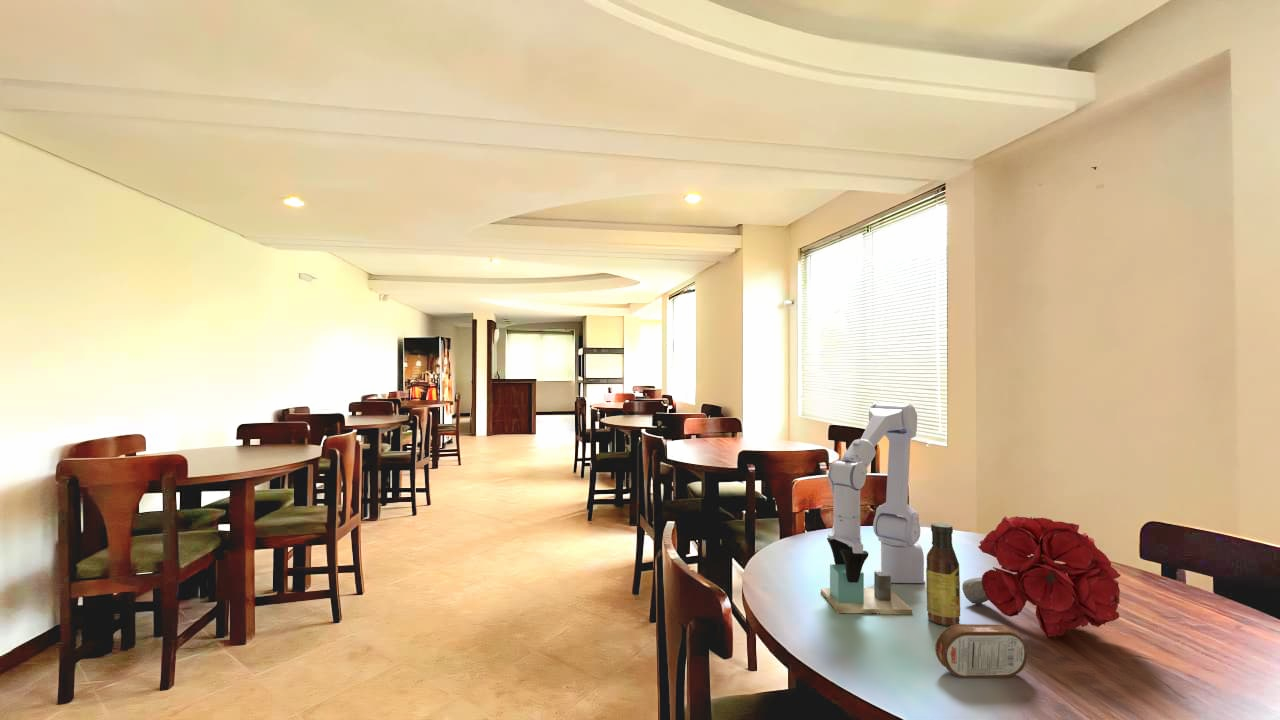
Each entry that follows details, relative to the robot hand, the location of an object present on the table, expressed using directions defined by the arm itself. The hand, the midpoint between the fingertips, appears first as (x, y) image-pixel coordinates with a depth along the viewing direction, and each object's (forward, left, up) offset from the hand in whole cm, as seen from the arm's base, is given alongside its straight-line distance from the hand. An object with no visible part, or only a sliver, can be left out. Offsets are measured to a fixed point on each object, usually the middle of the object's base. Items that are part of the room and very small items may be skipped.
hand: (846, 575), depth 132 cm
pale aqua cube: (0, 0, -5) cm, 5 cm away
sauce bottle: (-17, +9, -6) cm, 20 cm away
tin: (-12, +31, -6) cm, 34 cm away
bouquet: (-35, +11, -6) cm, 37 cm away
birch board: (-4, 0, -6) cm, 7 cm away
